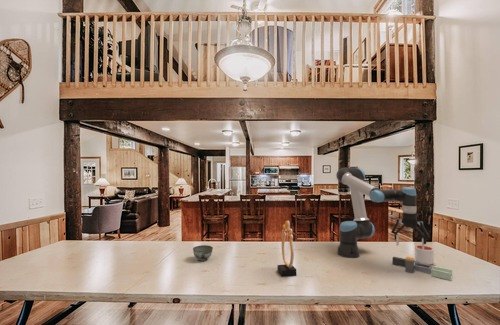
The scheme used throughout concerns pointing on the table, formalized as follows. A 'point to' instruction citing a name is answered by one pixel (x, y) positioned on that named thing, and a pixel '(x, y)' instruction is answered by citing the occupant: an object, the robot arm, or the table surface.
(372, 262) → the table surface
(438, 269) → the end holder
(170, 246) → the table surface
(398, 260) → the charcoal brick
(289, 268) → the loop sculpture
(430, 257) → the cup
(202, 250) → the bowl
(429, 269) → the clip
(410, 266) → the orange tall block
